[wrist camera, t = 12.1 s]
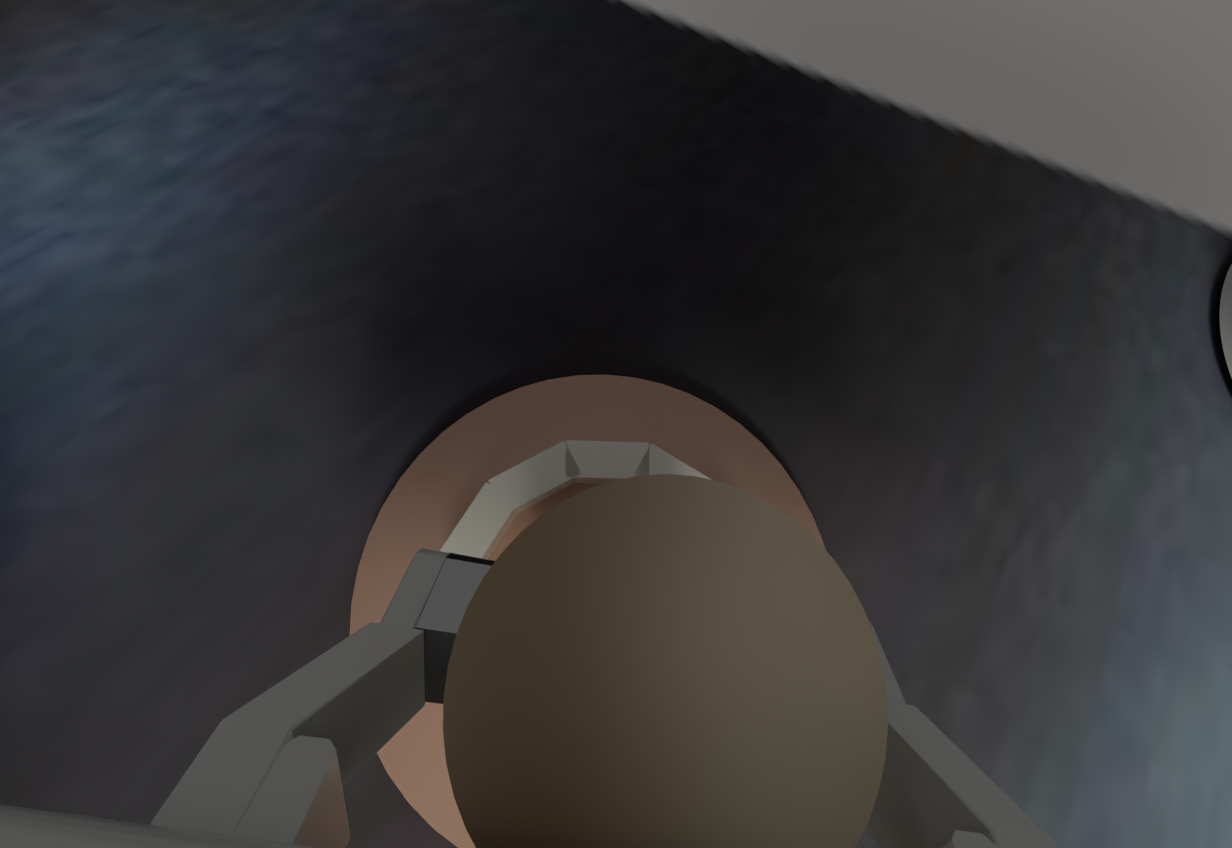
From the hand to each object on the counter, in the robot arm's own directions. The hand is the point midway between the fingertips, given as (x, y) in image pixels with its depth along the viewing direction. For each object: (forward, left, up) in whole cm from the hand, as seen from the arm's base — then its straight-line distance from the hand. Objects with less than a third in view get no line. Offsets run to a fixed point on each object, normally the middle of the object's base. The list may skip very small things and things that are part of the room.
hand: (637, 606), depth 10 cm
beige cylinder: (0, +1, -6) cm, 6 cm away
